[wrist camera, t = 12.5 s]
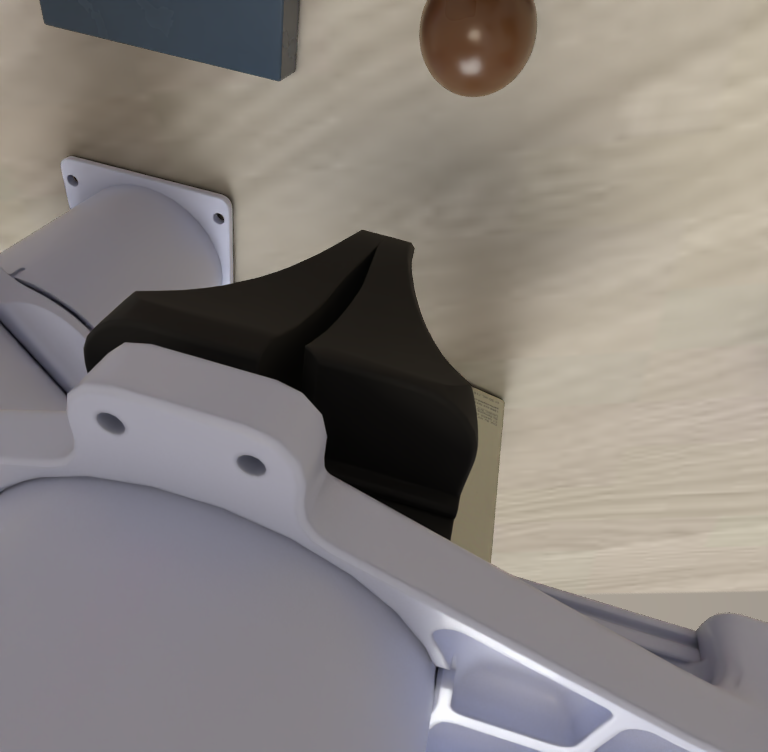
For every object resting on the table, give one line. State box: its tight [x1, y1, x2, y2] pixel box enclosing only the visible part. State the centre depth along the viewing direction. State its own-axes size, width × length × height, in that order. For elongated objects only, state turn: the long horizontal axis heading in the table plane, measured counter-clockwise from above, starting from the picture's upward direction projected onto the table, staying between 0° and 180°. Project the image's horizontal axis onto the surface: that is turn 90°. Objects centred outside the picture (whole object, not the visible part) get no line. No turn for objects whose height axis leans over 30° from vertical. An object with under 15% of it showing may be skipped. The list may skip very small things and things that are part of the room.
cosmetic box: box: [451, 387, 505, 563], centre depth 26 cm, size 6×4×12 cm
